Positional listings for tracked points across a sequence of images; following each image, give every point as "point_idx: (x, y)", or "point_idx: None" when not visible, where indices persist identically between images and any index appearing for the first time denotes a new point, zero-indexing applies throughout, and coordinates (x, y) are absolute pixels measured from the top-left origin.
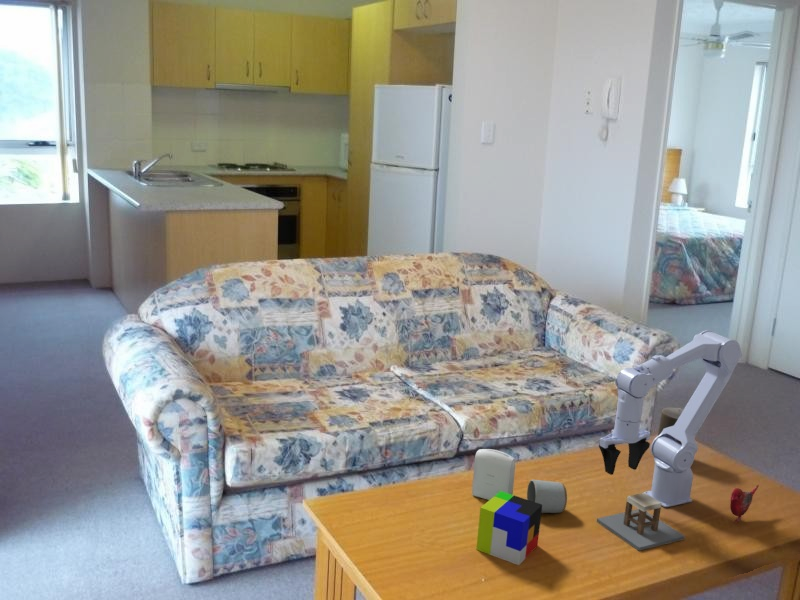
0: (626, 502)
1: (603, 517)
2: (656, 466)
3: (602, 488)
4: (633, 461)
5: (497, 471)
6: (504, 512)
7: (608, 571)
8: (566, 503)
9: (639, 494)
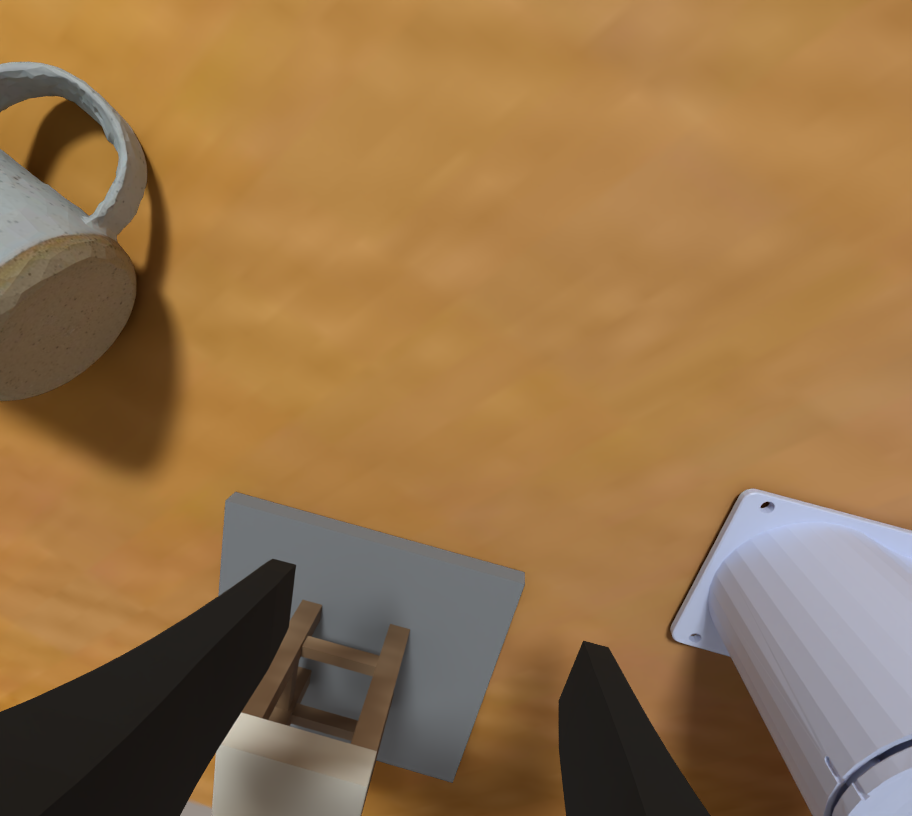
0: None
1: (263, 514)
2: (875, 751)
3: (614, 279)
4: (579, 761)
5: None
6: None
7: (25, 686)
8: (44, 392)
9: (312, 777)
